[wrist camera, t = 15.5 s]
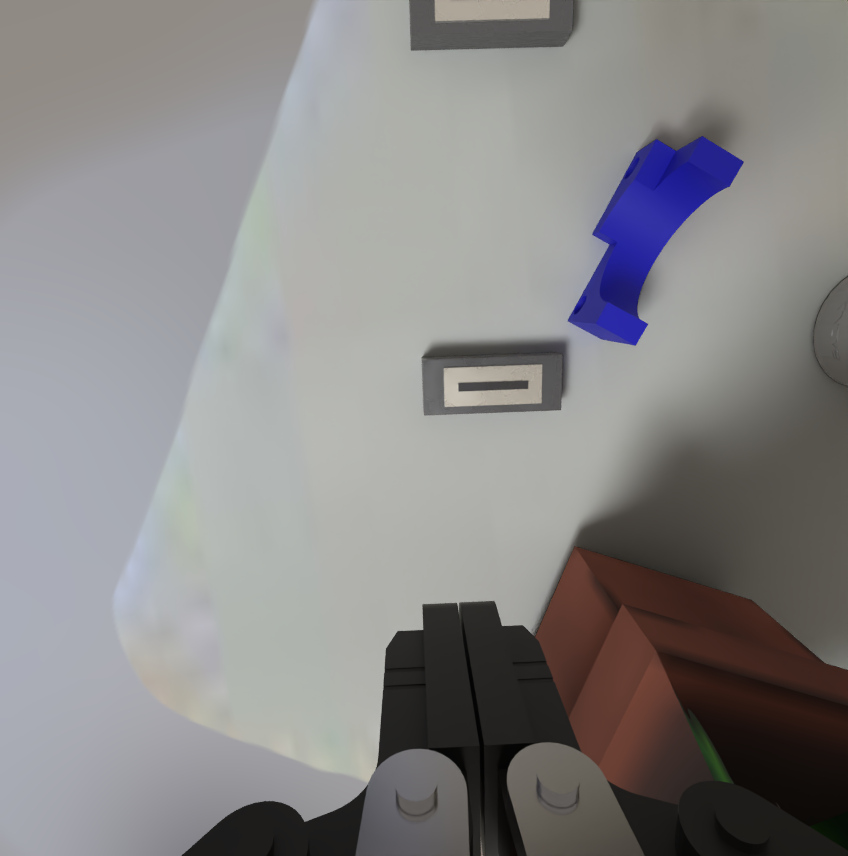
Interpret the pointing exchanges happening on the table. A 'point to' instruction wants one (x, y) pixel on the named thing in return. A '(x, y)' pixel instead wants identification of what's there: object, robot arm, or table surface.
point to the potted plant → (696, 691)
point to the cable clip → (646, 229)
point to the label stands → (505, 373)
